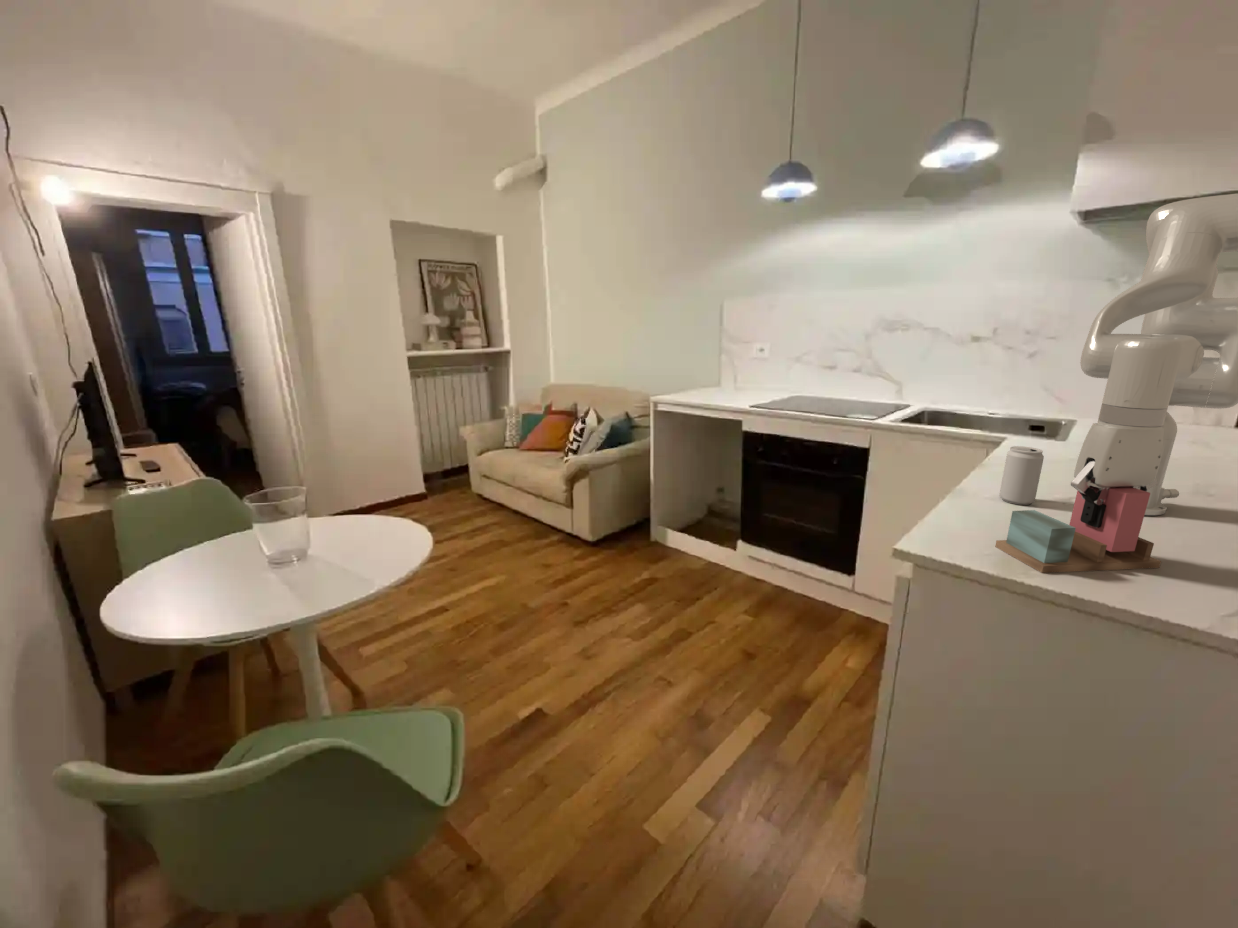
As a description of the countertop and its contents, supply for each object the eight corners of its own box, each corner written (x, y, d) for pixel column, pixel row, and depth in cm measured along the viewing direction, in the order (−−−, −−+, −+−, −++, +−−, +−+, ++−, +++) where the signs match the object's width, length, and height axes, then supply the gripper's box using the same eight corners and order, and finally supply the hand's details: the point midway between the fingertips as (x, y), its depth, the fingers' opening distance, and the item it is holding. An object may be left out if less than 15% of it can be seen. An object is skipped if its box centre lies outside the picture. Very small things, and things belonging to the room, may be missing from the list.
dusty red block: (1088, 531, 92) (1102, 478, 90) (1134, 551, 85) (1150, 492, 82) (1067, 532, 92) (1080, 478, 89) (1111, 551, 84) (1126, 493, 82)
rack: (1101, 542, 94) (1110, 505, 92) (1159, 567, 85) (1171, 526, 83) (995, 546, 93) (1002, 509, 91) (1041, 572, 84) (1051, 531, 82)
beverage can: (1035, 507, 111) (1047, 453, 108) (999, 502, 115) (1009, 450, 111) (1032, 499, 117) (1043, 447, 113) (997, 494, 120) (1007, 444, 117)
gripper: (1155, 411, 87) (1128, 514, 92) (1060, 414, 86) (1037, 517, 91) (1207, 420, 79) (1174, 531, 84) (1103, 422, 79) (1076, 534, 84)
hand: (1103, 522), depth 88 cm, fingers closed on dusty red block, 4 cm apart
